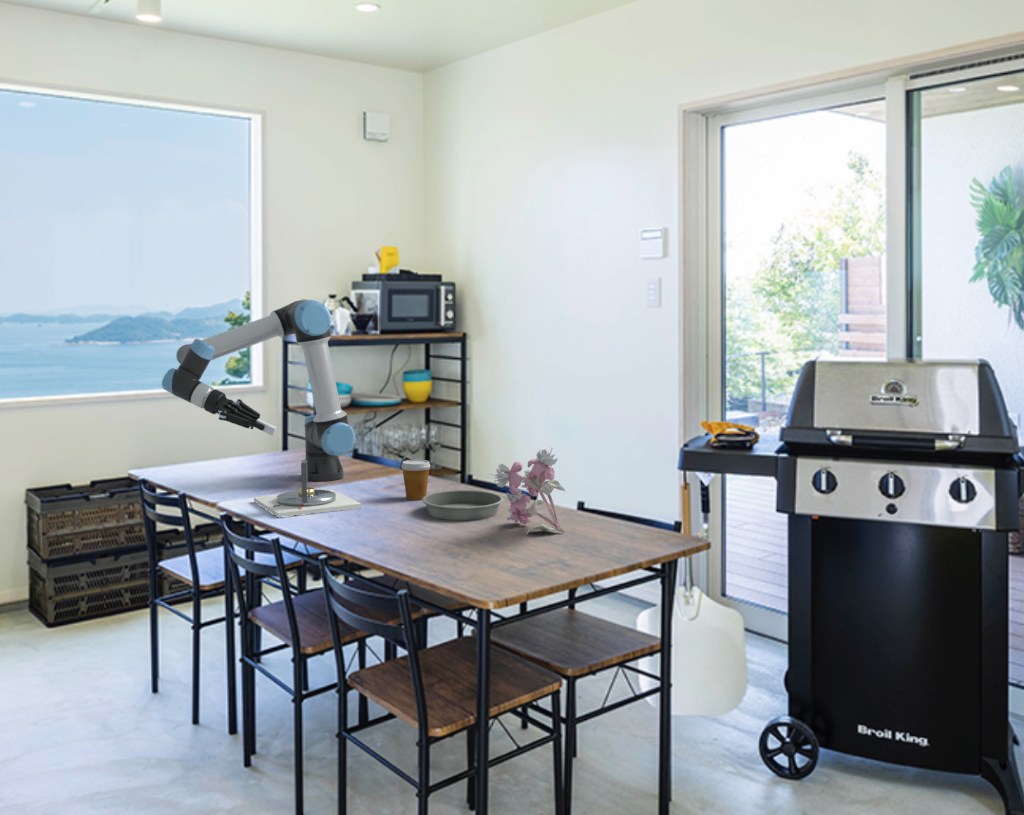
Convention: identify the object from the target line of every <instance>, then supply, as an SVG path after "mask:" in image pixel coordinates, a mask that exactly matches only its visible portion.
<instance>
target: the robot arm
mask: <svg viewBox="0 0 1024 815" xmlns="http://www.w3.org/2000/svg"><path fill="white" fill-rule="evenodd" d="M331 325H332V315H331V312H330V310H329V309H328V307H327V306H326V305H325V304H324V303H322V302H320V301H318V300H314V299H305V300H295V301H293V302H291V303H288V304H286V305H284V306H282V307H280V308H278V309H274V310H272V311H271V312H270V314H269V315H267V316H264V317H262V318H259V319H256V320H254V321H251V322H248V323H245V324H242V325H239V326H237V327H234V328H231V329H229V330H225V331H223V332H220V333H218V334H215V335H214V334H213V335H212V336H208V337H207V338H204V339H203V338H202V339H200V338H194V340H193V341H192V343H190V344H188V343H187V344H184V345H182V346H180V347H179V348H178V349H177V350H176V354H175V355H176V357H175V358H176V360H177V363H179V364H180V365H179V366H178V367H177V368H174V367H172V368H169V369H168V370H167V372H166V373H165V374H164V376H163V378H162V380H161V386H162V388H163V390H165V391H166V392H169V393H170V394H171V395H174V396H176V397H177V398H180V399H182V400H184V401H186V402H188V403H190V404H192V405H194V406H196V407H198V408H200V409H204V411H205V412H208V413H210V414H212V415H216V414H218V420H220V421H226V422H227V423H231V424H235V425H237V426H239V427H242V428H245V429H250V430H254V428H256V429H257V430H260V431H261V432H264V433H266V434H268V435H270V436H272V437H273V436H274V435H276V430H277V426H275V425H274V424H271V423H269V422H267V421H265V420H264V419H261V413H259V412H258V411H256V410H255V409H253V408H252V407H251V406H249V405H247V404H246V403H245V402H243V400H242V399H240V398H239V399H237V401H234V400H233V399H229V398H227V396H226V394H225V392H223V391H220V390H219V389H215V388H214V387H213V386H210V385H208V384H207V383H204V382H203V381H200V379H201V378H202V377H203V374H204V373H205V371H206V369H207V367H208V365H209V364H210V362H211V361H213V360H216V359H219V358H222V357H224V356H227V355H230V354H233V353H236V352H238V351H241V350H243V349H246V348H248V347H252V346H254V345H257V344H260V343H262V342H265V341H268V340H271V339H273V338H276V337H279V338H285V337H287V336H291V335H294V337H295V340H296V344H298V345H299V346H301V347H302V352H303V356H304V361H305V366H306V370H307V375H308V380H309V384H310V389H311V395H312V399H313V403H314V404H313V405H314V409H315V413H316V414H315V415H307V416H305V417H304V424H303V425H304V437H305V438H304V440H305V441H304V442H305V444H304V445H305V446H304V447H305V458H304V460H307V474H308V482H309V481H310V482H327V481H335V480H340V479H343V478H344V469H343V468H344V467H343V465H342V462H341V460H340V456H343V455H345V454H347V453H349V452H350V451H351V449H352V448H353V447H354V445H355V442H356V434H355V431H354V429H353V427H352V426H351V425H350V423H349V418H348V414H347V412H345V410H343V409H342V408H341V403H340V398H339V392H338V387H337V382H336V377H335V373H334V369H333V368H334V367H333V362H332V358H331V352H330V348H329V340H330V339H331V337H332V334H331V331H330V327H331Z"/></svg>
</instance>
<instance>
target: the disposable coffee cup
mask: <svg viewBox="0 0 1024 815" xmlns="http://www.w3.org/2000/svg"><path fill="white" fill-rule="evenodd" d="M400 467H401V470H402V475H403V482H404V489H405V490H404V491H405V497H406V498H405V499H407V500H409V501H422V499H423V497H425V496H427V491H428V482H429V474H430V468H431V464H430V461H429V460H426V459H409V460H408V459H407V460H403V461H402V463H401V466H400Z"/></svg>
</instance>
